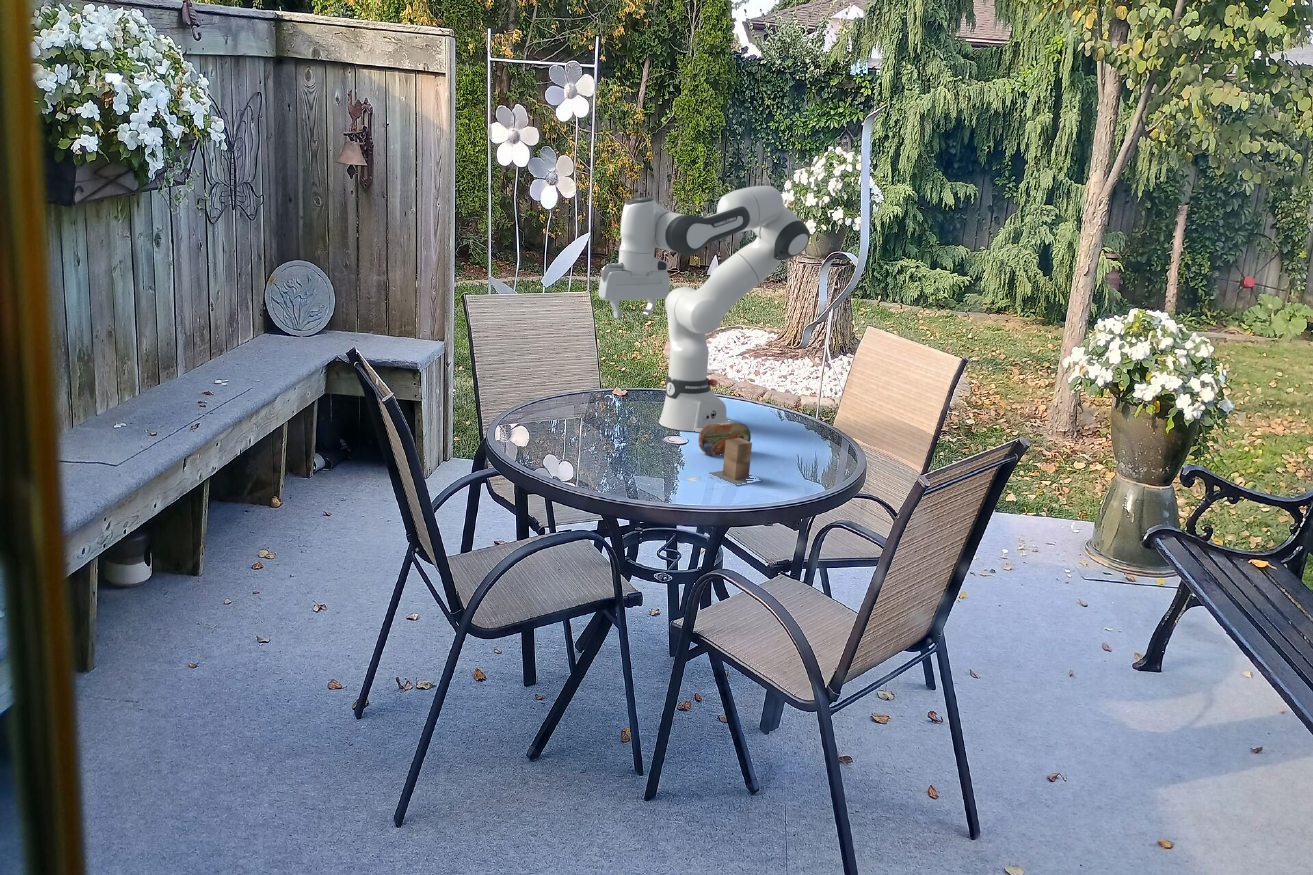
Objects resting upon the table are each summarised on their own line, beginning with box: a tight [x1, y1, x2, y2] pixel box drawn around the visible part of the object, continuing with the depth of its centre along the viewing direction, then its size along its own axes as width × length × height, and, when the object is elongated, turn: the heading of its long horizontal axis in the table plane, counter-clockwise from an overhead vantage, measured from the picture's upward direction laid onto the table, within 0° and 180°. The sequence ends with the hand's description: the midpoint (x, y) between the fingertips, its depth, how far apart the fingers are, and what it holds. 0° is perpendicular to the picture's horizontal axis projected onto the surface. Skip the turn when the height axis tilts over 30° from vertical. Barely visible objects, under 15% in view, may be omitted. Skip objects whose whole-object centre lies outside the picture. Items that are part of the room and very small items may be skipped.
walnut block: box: [722, 438, 753, 480], centre depth 273 cm, size 5×5×9 cm
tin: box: [698, 421, 752, 456], centre depth 294 cm, size 15×3×8 cm, turn 117°
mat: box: [708, 470, 756, 485], centre depth 274 cm, size 9×10×1 cm
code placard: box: [686, 476, 701, 482], centre depth 269 cm, size 7×9×1 cm
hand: (632, 317), depth 283 cm, fingers open, 8 cm apart
